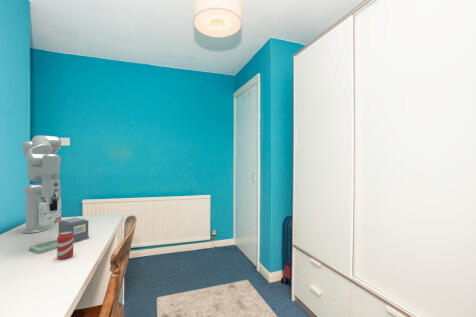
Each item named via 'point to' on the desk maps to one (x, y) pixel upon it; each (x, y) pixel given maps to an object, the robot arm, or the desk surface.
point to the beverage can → (65, 244)
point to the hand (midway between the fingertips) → (50, 209)
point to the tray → (44, 247)
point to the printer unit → (75, 228)
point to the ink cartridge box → (49, 213)
